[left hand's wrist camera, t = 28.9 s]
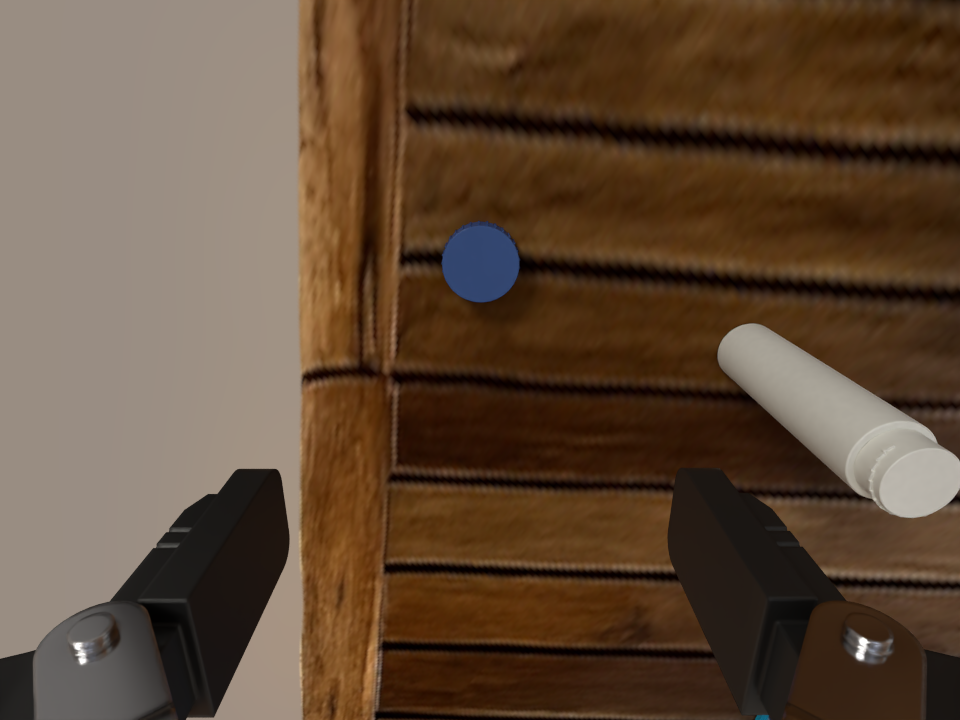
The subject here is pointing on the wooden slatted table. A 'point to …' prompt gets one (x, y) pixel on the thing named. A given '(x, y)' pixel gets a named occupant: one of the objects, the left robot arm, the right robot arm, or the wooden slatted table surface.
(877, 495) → the white tube
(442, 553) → the wooden slatted table surface
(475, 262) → the lid
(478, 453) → the wooden slatted table surface
